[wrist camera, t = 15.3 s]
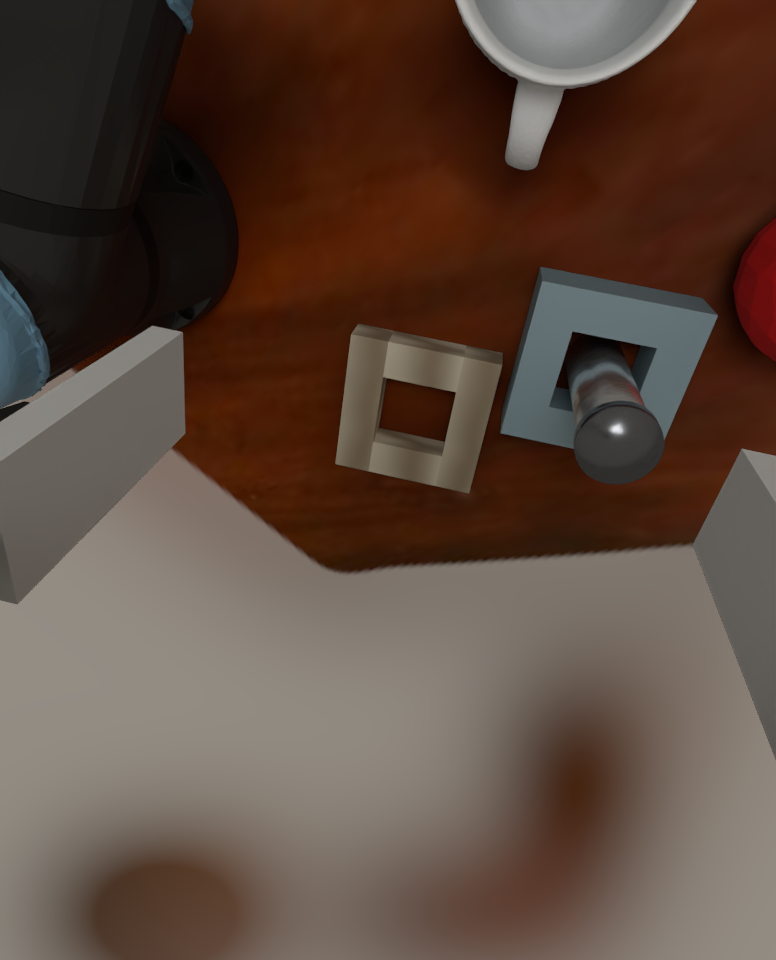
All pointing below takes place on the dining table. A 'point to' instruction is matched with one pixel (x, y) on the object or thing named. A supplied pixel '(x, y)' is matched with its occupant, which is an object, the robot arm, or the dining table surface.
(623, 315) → the socket
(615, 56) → the mug
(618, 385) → the pin
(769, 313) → the tomato
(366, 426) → the beige square frame
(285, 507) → the dining table surface
